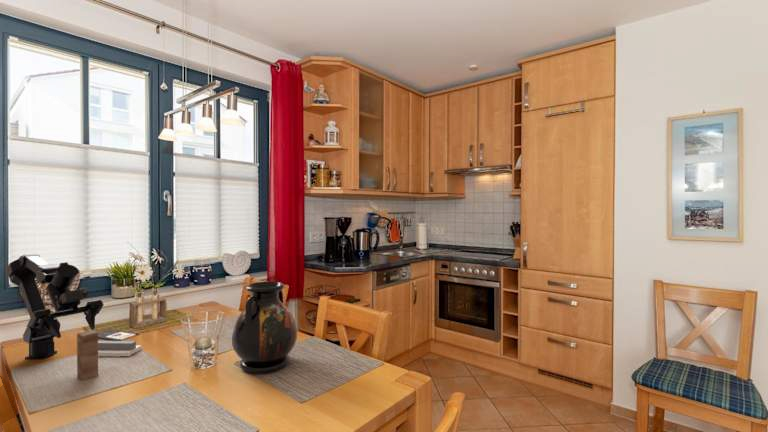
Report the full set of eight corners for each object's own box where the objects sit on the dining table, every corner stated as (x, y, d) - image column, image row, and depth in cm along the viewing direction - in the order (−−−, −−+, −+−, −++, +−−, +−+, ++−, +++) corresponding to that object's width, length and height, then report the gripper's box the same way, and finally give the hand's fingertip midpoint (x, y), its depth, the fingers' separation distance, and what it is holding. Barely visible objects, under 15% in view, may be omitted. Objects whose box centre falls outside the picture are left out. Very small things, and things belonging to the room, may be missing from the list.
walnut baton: (77, 377, 119) (76, 333, 119) (91, 372, 123) (91, 330, 122) (83, 380, 117) (83, 335, 117) (98, 375, 121) (97, 332, 120)
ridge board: (79, 356, 136) (79, 345, 136) (94, 348, 143) (94, 338, 143) (128, 356, 136) (128, 345, 136) (141, 349, 143) (141, 338, 143)
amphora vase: (272, 383, 116) (272, 293, 115) (217, 373, 123) (217, 288, 122) (308, 357, 136) (308, 281, 136) (259, 349, 143) (259, 277, 143)
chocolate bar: (108, 328, 165) (138, 333, 160) (108, 330, 165) (138, 335, 160) (86, 335, 157) (117, 340, 151) (86, 337, 157) (117, 342, 151)
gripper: (32, 286, 117) (48, 326, 112) (100, 276, 133) (117, 311, 128) (22, 307, 121) (37, 347, 116) (89, 296, 137) (105, 330, 132)
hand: (77, 333), depth 123 cm, fingers open, 9 cm apart
